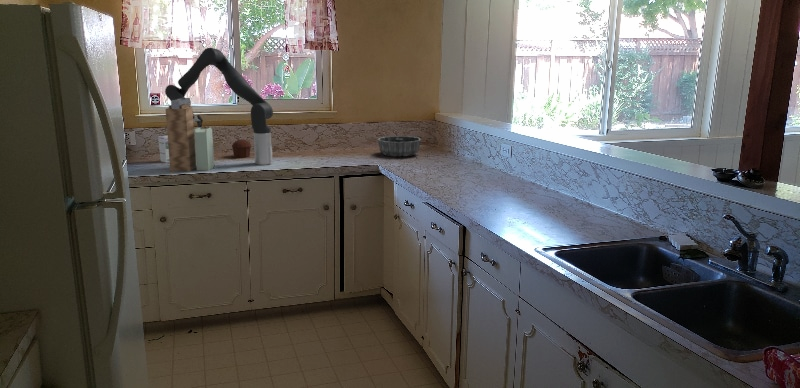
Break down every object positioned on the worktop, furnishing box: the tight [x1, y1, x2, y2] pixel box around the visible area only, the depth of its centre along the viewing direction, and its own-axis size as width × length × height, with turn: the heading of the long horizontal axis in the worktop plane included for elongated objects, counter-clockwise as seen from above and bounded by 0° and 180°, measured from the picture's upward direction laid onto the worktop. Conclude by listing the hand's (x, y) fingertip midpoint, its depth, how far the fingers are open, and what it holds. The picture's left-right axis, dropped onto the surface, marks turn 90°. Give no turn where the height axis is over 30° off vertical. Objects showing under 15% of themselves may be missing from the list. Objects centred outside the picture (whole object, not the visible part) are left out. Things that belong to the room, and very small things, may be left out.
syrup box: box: [157, 134, 170, 163], centre depth 337 cm, size 6×6×14 cm
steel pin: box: [170, 97, 192, 109], centre depth 314 cm, size 4×20×4 cm, turn 3°
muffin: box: [231, 138, 252, 159], centre depth 355 cm, size 12×11×10 cm
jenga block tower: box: [165, 104, 197, 172], centre depth 314 cm, size 10×12×34 cm
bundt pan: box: [376, 135, 422, 158], centre depth 368 cm, size 26×26×10 cm
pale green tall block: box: [194, 127, 215, 171], centre depth 318 cm, size 6×12×21 cm, turn 3°
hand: (192, 125), depth 323 cm, fingers open, 8 cm apart
